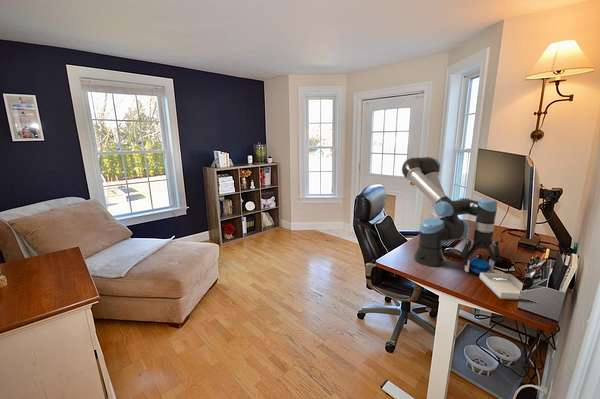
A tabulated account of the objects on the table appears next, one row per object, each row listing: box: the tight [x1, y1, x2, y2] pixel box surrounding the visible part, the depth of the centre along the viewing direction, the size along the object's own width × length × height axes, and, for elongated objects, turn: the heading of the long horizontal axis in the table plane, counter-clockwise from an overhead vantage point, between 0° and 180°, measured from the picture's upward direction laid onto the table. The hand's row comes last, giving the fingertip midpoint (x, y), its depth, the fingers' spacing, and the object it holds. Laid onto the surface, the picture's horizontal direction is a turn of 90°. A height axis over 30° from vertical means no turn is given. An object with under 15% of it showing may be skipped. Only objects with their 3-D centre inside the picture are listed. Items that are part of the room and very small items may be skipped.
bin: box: [478, 272, 524, 301], centre depth 120 cm, size 14×18×3 cm
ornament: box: [469, 254, 489, 275], centre depth 133 cm, size 9×9×10 cm
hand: (478, 271), depth 134 cm, fingers open, 10 cm apart
